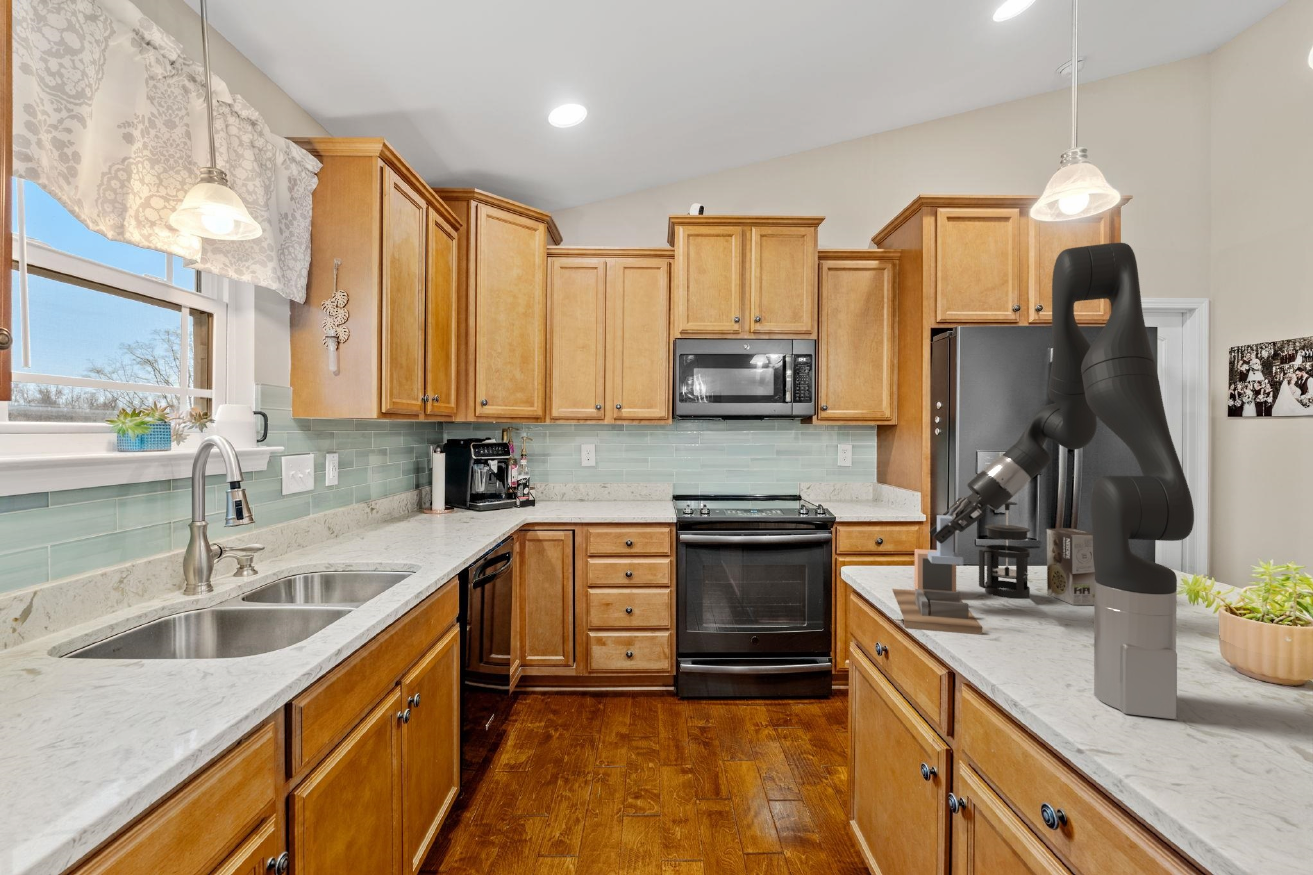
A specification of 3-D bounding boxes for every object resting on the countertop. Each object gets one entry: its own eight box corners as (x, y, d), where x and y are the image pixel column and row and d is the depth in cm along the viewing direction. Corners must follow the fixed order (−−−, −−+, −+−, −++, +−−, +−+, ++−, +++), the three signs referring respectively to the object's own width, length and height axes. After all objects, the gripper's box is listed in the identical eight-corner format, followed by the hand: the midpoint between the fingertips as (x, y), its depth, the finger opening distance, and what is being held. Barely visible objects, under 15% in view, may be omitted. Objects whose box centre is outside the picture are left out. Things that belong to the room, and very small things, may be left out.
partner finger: (956, 600, 129) (956, 555, 129) (918, 597, 132) (918, 553, 132) (951, 593, 135) (951, 550, 135) (914, 590, 137) (914, 549, 137)
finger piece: (963, 564, 119) (963, 519, 119) (931, 563, 121) (931, 518, 120) (958, 559, 124) (958, 515, 123) (927, 557, 125) (927, 514, 125)
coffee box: (1100, 605, 130) (1101, 534, 130) (1072, 605, 130) (1072, 534, 130) (1072, 593, 139) (1072, 527, 139) (1045, 594, 139) (1045, 527, 139)
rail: (982, 634, 112) (982, 611, 112) (904, 627, 116) (904, 605, 116) (955, 599, 135) (955, 580, 135) (891, 594, 139) (891, 576, 139)
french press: (1014, 592, 140) (1015, 498, 140) (1043, 604, 131) (1043, 503, 130) (968, 594, 139) (968, 499, 139) (994, 606, 130) (994, 504, 129)
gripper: (975, 467, 126) (916, 519, 130) (993, 472, 113) (926, 531, 117) (1002, 491, 125) (941, 544, 129) (1024, 500, 111) (955, 558, 115)
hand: (934, 537), depth 123 cm, fingers closed on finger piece, 4 cm apart
